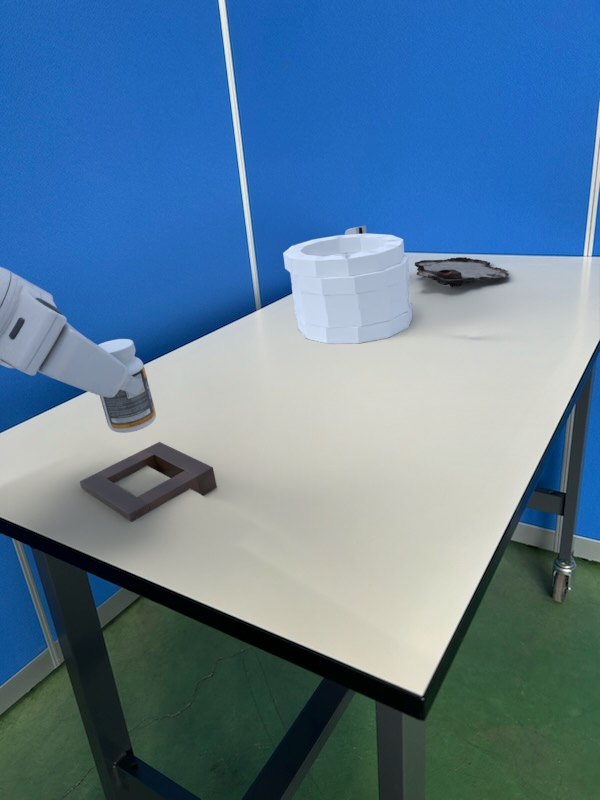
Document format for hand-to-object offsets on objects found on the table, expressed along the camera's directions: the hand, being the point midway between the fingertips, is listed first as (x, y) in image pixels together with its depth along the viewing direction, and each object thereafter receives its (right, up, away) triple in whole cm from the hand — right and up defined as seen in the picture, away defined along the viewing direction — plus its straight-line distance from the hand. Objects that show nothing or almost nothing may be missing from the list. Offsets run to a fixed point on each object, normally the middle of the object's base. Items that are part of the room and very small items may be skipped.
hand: (127, 380), depth 72 cm
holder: (+1, -14, +6) cm, 16 cm away
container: (+31, +14, +58) cm, 67 cm away
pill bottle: (0, -5, +2) cm, 6 cm away
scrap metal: (+60, +27, +80) cm, 103 cm away
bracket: (+36, +26, +83) cm, 94 cm away
